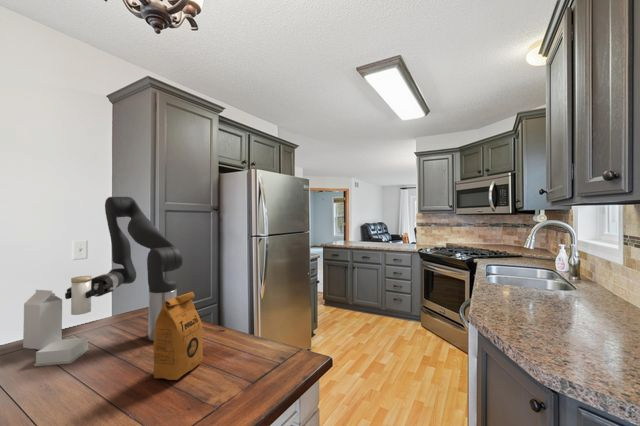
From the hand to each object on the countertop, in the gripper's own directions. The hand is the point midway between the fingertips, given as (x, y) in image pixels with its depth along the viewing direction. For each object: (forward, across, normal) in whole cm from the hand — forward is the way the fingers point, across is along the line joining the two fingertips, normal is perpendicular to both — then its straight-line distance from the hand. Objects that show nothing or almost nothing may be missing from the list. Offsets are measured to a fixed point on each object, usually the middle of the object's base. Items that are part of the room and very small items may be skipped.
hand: (77, 295), depth 100 cm
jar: (-3, 0, +6) cm, 7 cm away
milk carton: (-5, -13, +18) cm, 23 cm away
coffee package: (+23, +38, +18) cm, 48 cm away
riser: (+7, 0, +18) cm, 19 cm away
